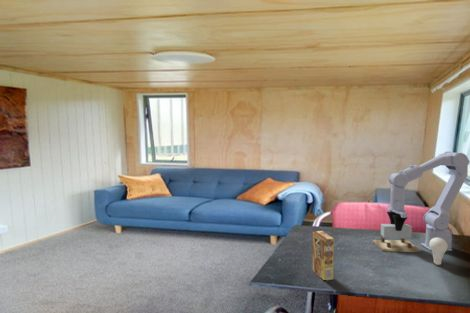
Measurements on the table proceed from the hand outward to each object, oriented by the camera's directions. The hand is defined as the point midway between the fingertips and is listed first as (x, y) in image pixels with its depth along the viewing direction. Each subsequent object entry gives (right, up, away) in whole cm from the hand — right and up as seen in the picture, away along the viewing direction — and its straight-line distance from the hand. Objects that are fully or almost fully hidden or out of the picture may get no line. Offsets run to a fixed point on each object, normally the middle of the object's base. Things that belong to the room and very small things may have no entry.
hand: (396, 229), depth 142 cm
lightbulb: (+6, -10, -19) cm, 22 cm away
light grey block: (0, -3, 0) cm, 3 cm away
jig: (0, -8, +1) cm, 8 cm away
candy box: (-41, -11, -27) cm, 51 cm away
